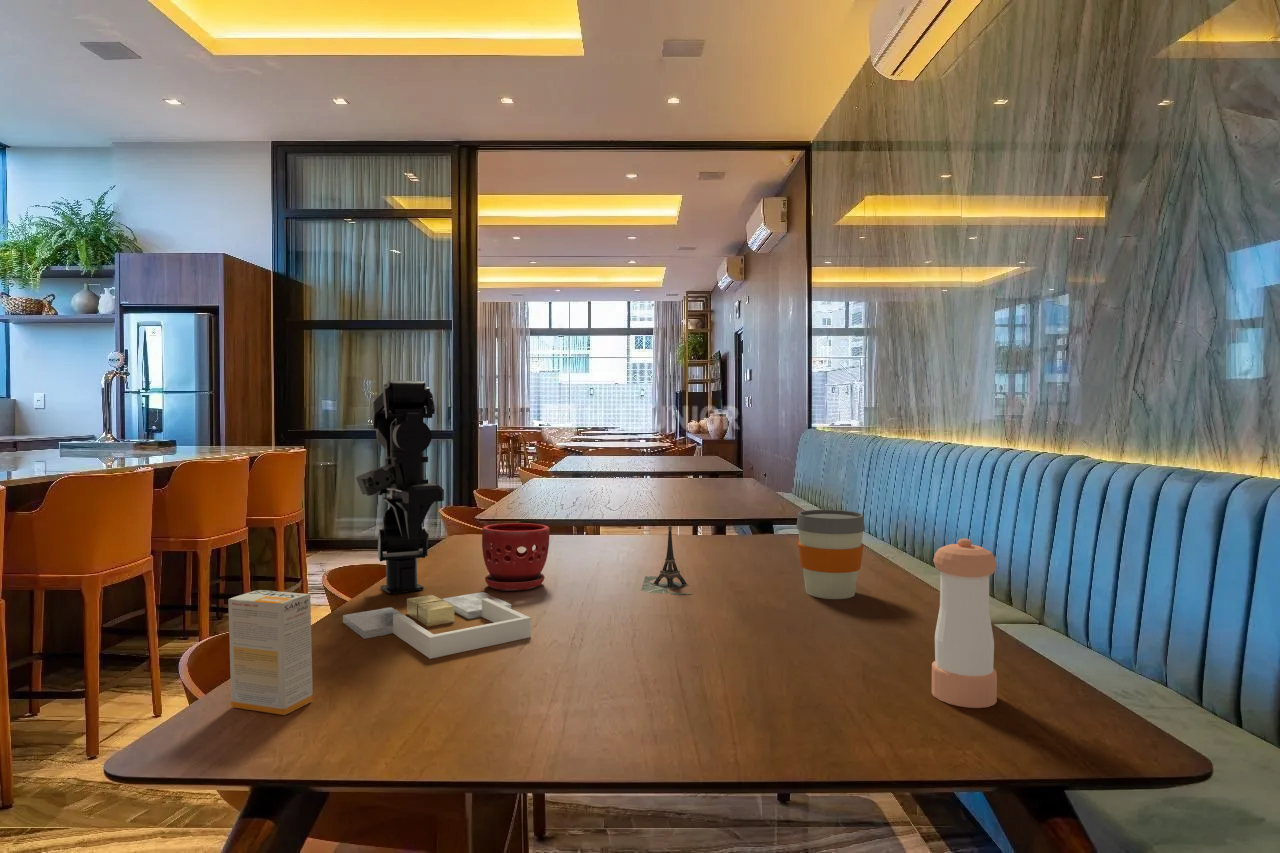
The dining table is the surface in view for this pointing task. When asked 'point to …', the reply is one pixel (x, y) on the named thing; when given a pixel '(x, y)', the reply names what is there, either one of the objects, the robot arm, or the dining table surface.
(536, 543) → the plant pot
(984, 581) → the salt shaker
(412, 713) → the dining table surface
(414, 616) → the tan block
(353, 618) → the plate
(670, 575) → the eiffel tower figurine
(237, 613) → the supplement box
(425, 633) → the tray
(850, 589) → the reusable coffee cup
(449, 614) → the beige wooden block
